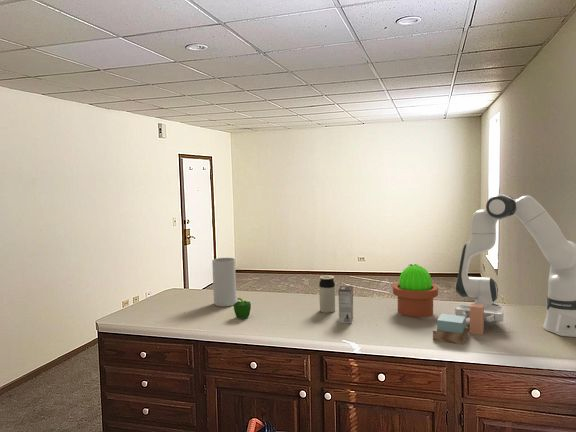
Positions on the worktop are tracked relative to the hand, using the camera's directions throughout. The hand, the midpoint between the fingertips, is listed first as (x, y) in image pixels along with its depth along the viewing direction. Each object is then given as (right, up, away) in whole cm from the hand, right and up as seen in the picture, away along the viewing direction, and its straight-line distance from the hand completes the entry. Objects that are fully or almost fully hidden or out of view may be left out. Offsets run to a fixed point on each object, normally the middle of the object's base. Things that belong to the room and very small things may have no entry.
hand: (476, 318), depth 206 cm
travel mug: (-62, -5, +39) cm, 73 cm away
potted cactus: (-18, -4, +32) cm, 37 cm away
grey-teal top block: (-13, -3, -5) cm, 14 cm away
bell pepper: (-105, -7, +31) cm, 110 cm away
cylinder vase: (-118, -5, +57) cm, 131 cm away
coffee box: (-54, -6, +22) cm, 59 cm away
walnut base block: (-13, -8, -5) cm, 16 cm away
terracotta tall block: (+1, -7, +1) cm, 7 cm away
